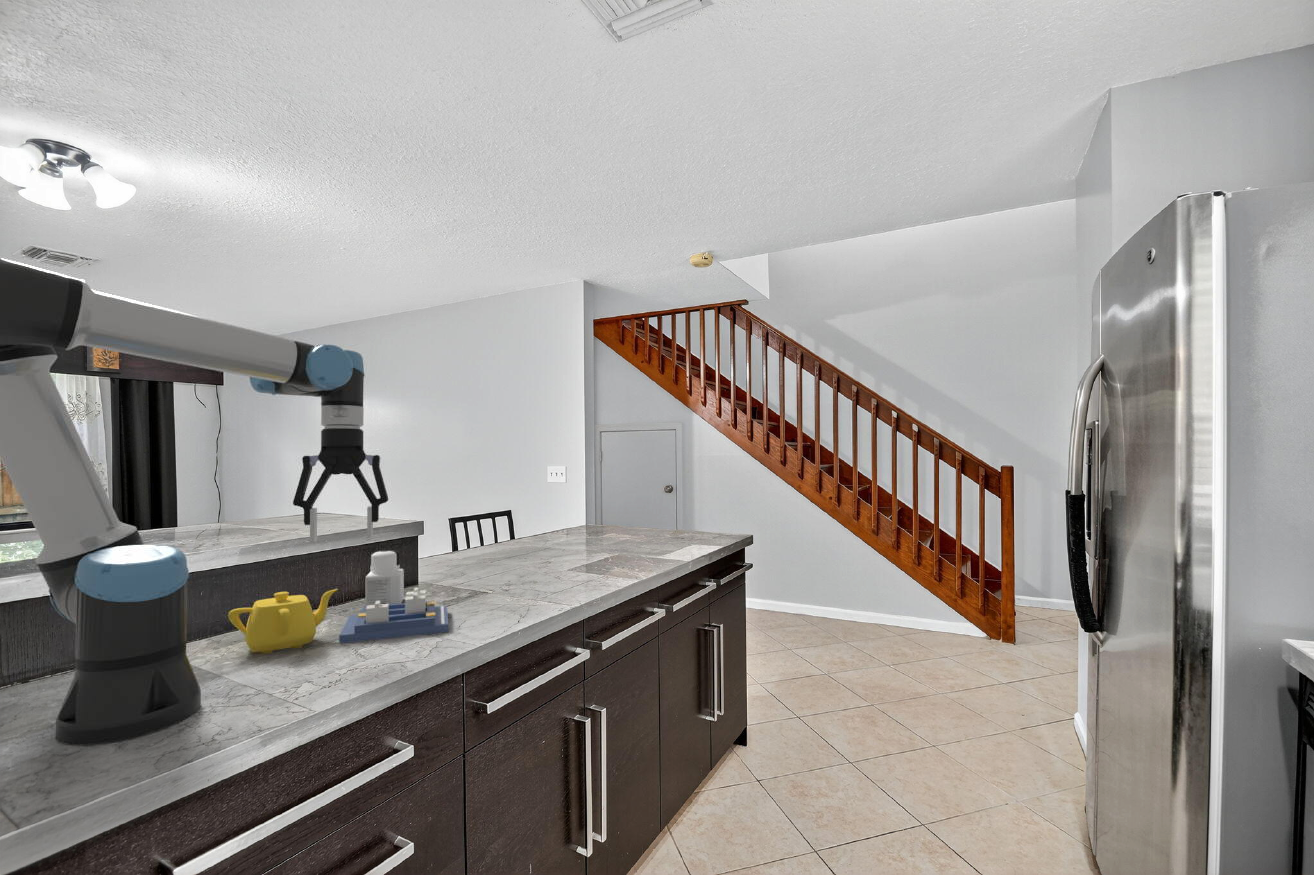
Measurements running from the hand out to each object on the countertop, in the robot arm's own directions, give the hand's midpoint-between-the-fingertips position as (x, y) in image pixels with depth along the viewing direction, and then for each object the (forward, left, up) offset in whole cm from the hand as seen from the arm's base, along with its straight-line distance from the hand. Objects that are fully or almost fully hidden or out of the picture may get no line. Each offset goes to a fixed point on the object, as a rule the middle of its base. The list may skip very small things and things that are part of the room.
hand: (342, 540), depth 119 cm
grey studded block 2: (+13, +10, -18) cm, 24 cm away
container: (+6, +27, -20) cm, 34 cm away
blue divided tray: (+10, +5, -20) cm, 22 cm away
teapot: (-10, 0, -20) cm, 22 cm away
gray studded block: (+14, +5, -18) cm, 23 cm away
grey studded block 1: (+6, 0, -18) cm, 19 cm away
